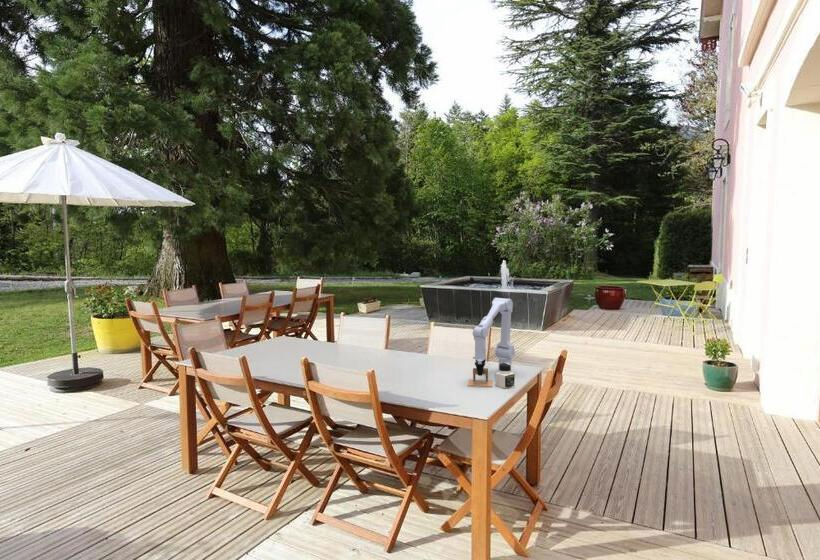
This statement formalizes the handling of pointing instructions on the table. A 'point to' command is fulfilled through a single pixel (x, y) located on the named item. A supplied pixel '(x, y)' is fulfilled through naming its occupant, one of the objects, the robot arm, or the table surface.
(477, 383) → the terracotta tile
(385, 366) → the table surface
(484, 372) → the brown slotted block
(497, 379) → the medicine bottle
